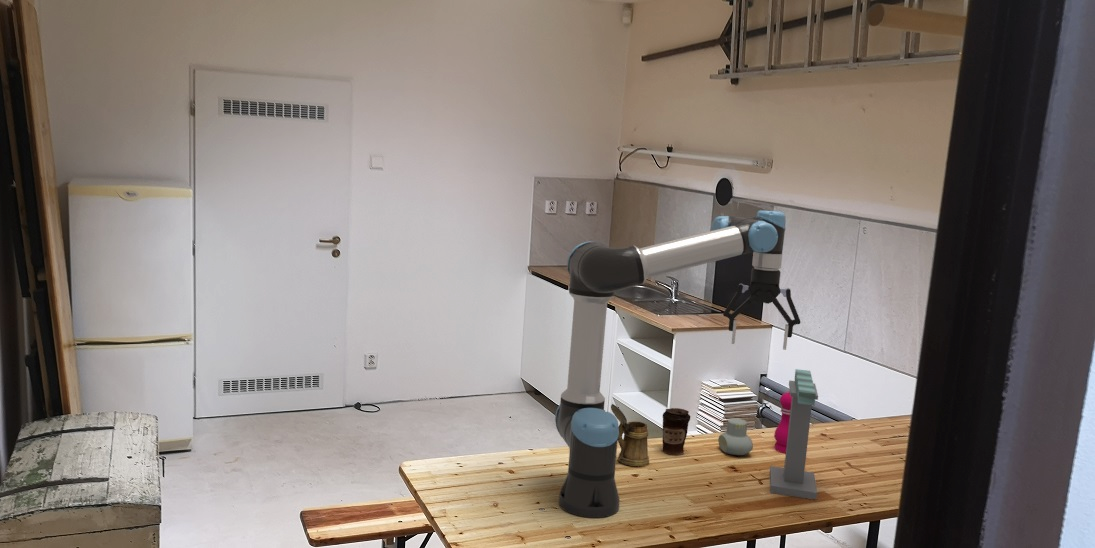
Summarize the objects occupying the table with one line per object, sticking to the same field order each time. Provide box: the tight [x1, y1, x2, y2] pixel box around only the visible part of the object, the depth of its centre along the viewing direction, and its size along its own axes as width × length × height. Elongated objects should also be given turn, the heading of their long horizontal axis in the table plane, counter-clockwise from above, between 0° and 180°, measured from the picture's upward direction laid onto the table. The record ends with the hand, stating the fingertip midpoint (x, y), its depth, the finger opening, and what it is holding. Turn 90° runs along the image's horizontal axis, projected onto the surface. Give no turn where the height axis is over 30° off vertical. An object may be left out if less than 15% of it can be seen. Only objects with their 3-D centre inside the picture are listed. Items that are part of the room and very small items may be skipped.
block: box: [794, 368, 816, 406], centre depth 225 cm, size 26×4×3 cm, turn 165°
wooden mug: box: [610, 403, 650, 468], centre depth 241 cm, size 9×14×18 cm, turn 117°
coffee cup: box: [662, 407, 691, 456], centre depth 252 cm, size 9×8×13 cm
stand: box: [769, 379, 819, 501], centre depth 230 cm, size 16×12×28 cm
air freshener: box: [717, 418, 754, 456], centre depth 256 cm, size 11×8×10 cm
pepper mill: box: [773, 388, 792, 454], centre depth 261 cm, size 7×7×20 cm
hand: (758, 346), depth 227 cm, fingers open, 13 cm apart
